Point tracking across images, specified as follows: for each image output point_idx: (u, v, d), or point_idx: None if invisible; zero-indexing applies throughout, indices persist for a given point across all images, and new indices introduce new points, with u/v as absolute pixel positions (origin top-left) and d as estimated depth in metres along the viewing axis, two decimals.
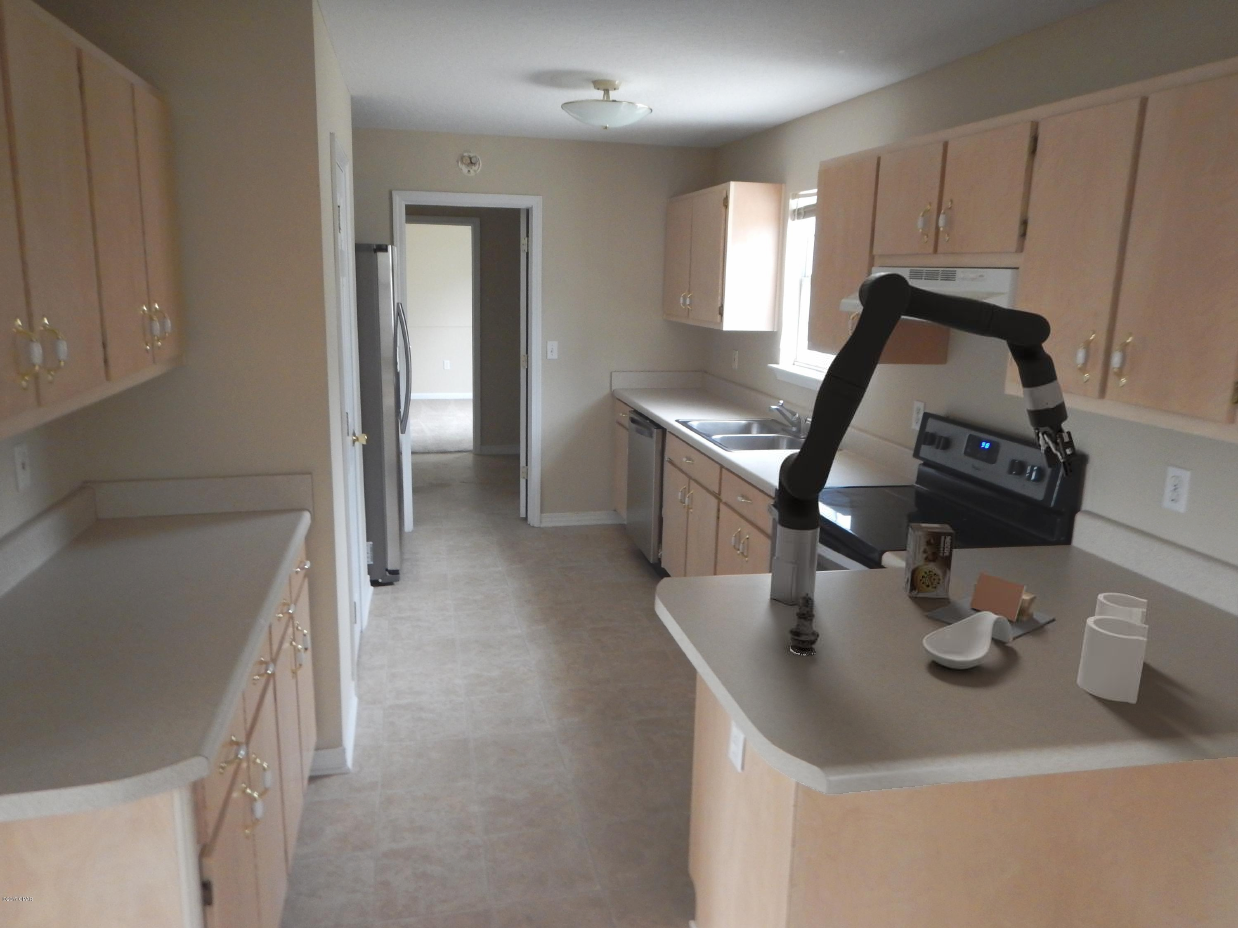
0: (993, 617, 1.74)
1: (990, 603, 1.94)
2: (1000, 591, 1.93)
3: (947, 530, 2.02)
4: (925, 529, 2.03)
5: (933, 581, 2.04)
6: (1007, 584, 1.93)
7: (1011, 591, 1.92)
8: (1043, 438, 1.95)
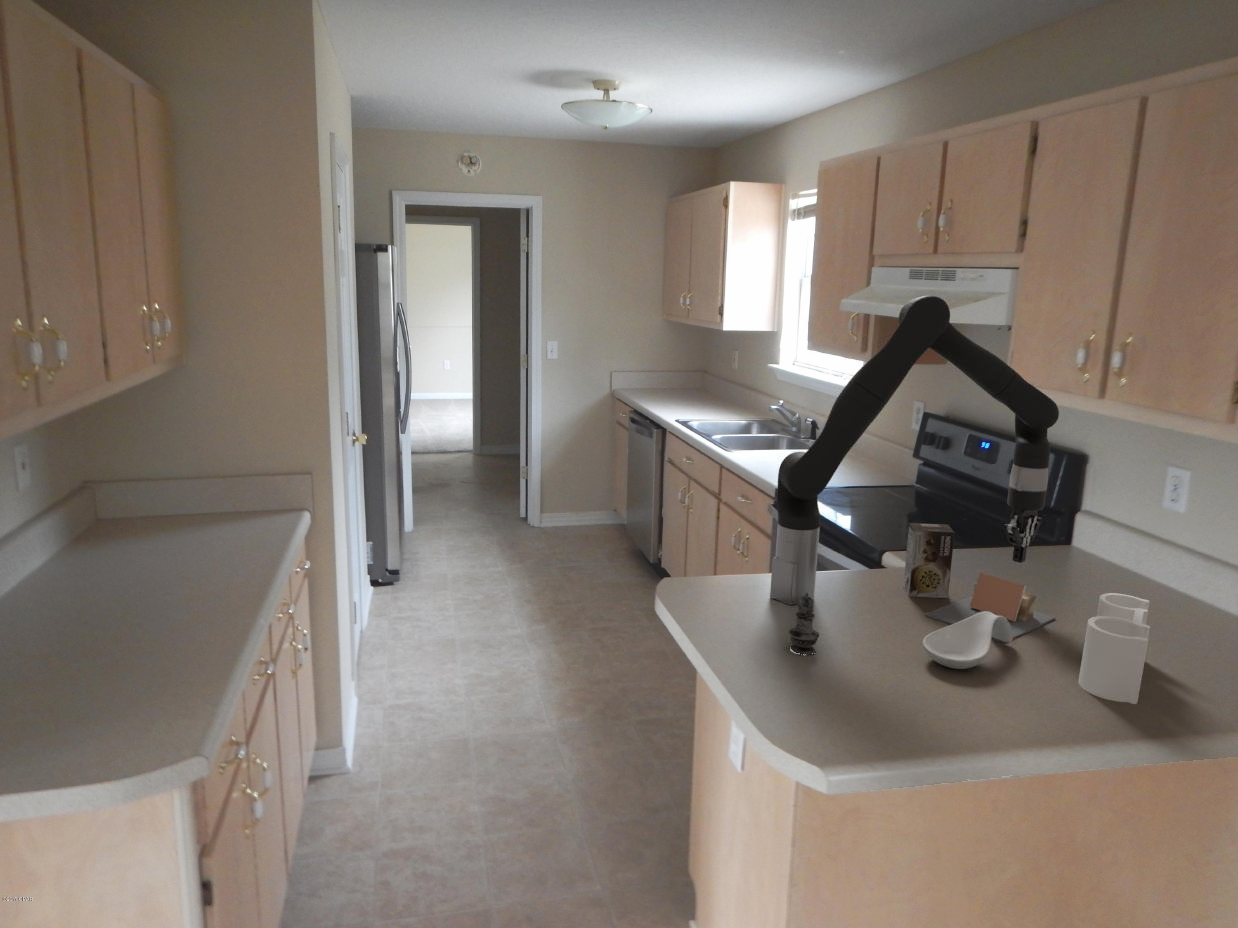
0: (993, 617, 1.74)
1: (990, 603, 1.94)
2: (1000, 591, 1.93)
3: (947, 530, 2.02)
4: (925, 529, 2.03)
5: (933, 581, 2.04)
6: (1007, 584, 1.93)
7: (1011, 591, 1.92)
8: None
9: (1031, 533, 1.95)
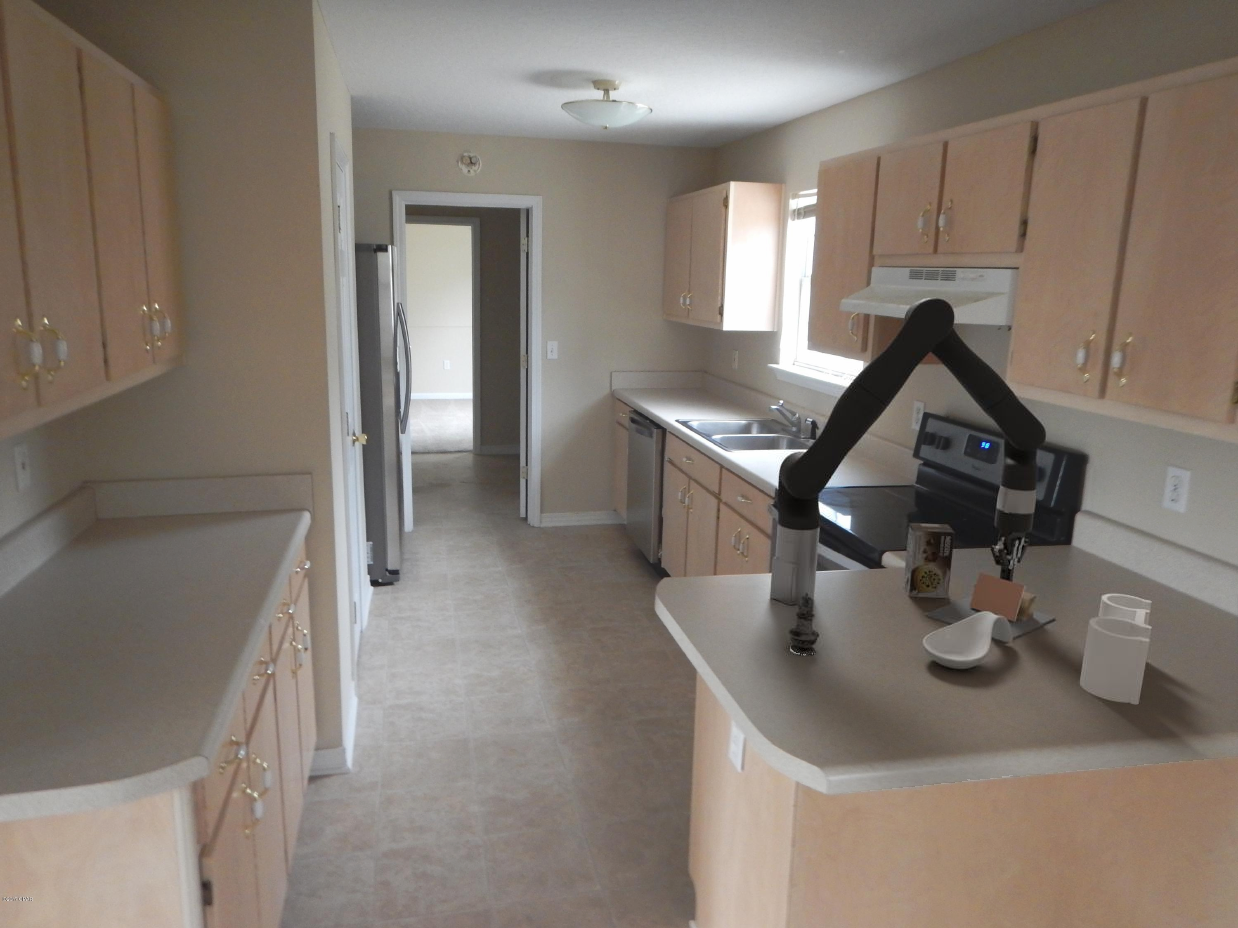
0: (993, 617, 1.74)
1: (990, 603, 1.94)
2: (1000, 591, 1.93)
3: (947, 530, 2.02)
4: (925, 529, 2.03)
5: (933, 581, 2.04)
6: (1007, 584, 1.93)
7: (1011, 591, 1.92)
8: None
9: (1018, 555, 1.94)
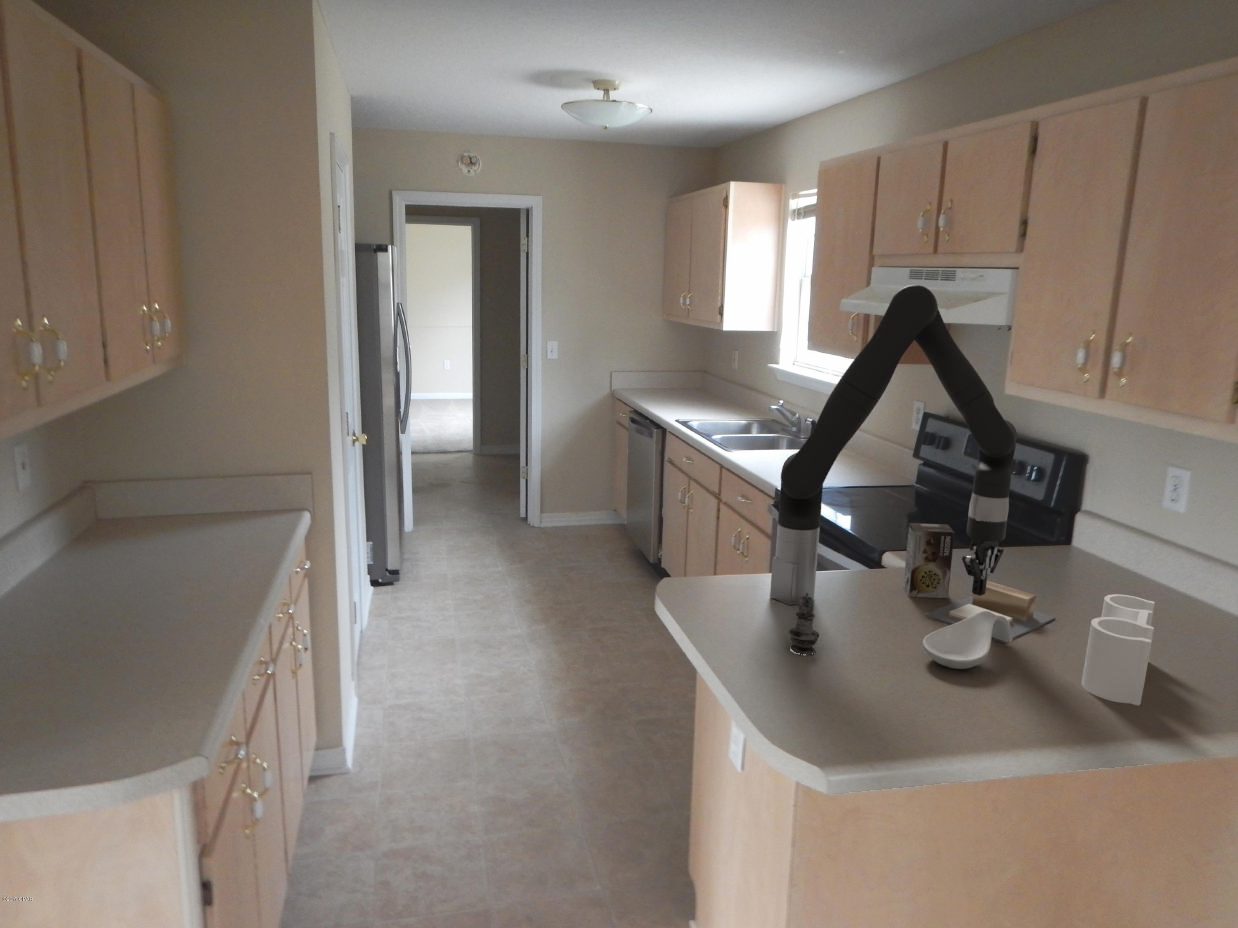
0: (993, 617, 1.74)
1: None
2: None
3: (947, 530, 2.02)
4: (925, 529, 2.03)
5: (933, 581, 2.04)
6: None
7: None
8: None
9: (991, 565, 1.86)
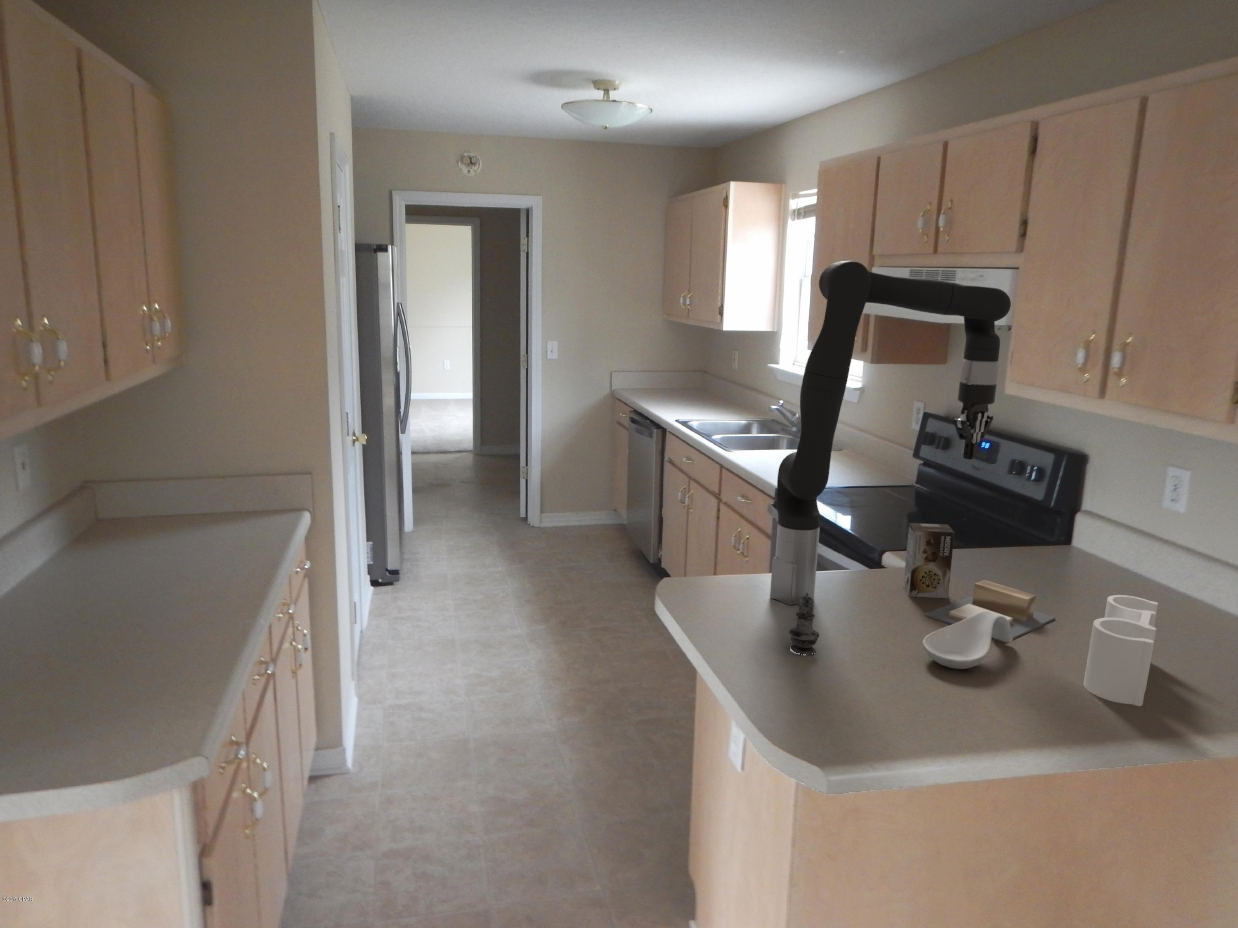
0: (993, 617, 1.74)
1: None
2: None
3: (947, 530, 2.02)
4: (925, 529, 2.03)
5: (933, 581, 2.04)
6: None
7: None
8: None
9: (981, 429, 1.95)
